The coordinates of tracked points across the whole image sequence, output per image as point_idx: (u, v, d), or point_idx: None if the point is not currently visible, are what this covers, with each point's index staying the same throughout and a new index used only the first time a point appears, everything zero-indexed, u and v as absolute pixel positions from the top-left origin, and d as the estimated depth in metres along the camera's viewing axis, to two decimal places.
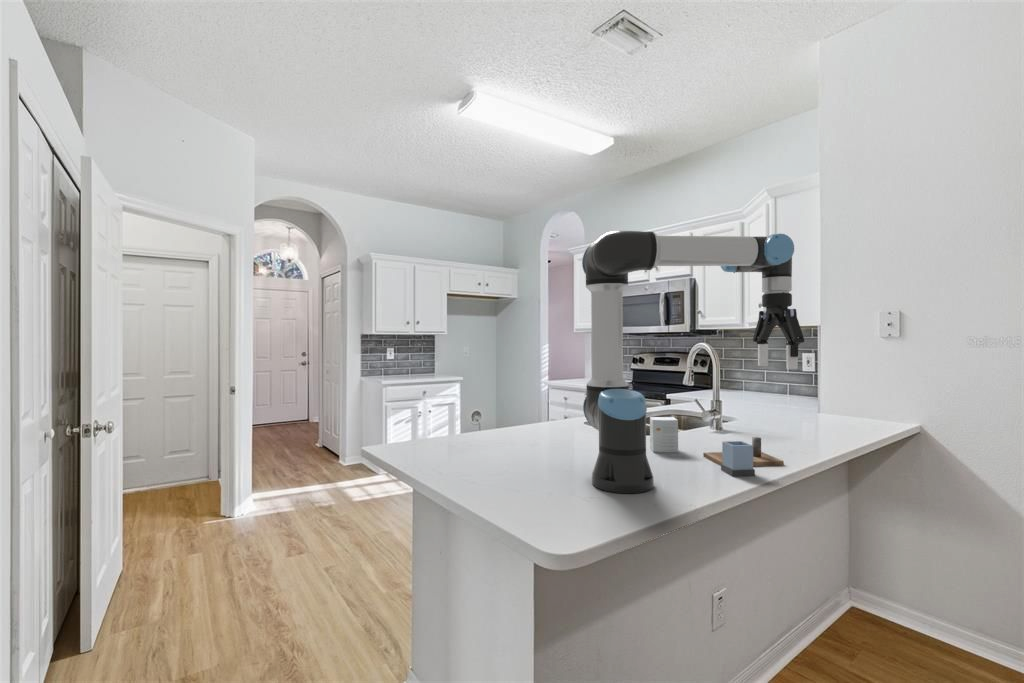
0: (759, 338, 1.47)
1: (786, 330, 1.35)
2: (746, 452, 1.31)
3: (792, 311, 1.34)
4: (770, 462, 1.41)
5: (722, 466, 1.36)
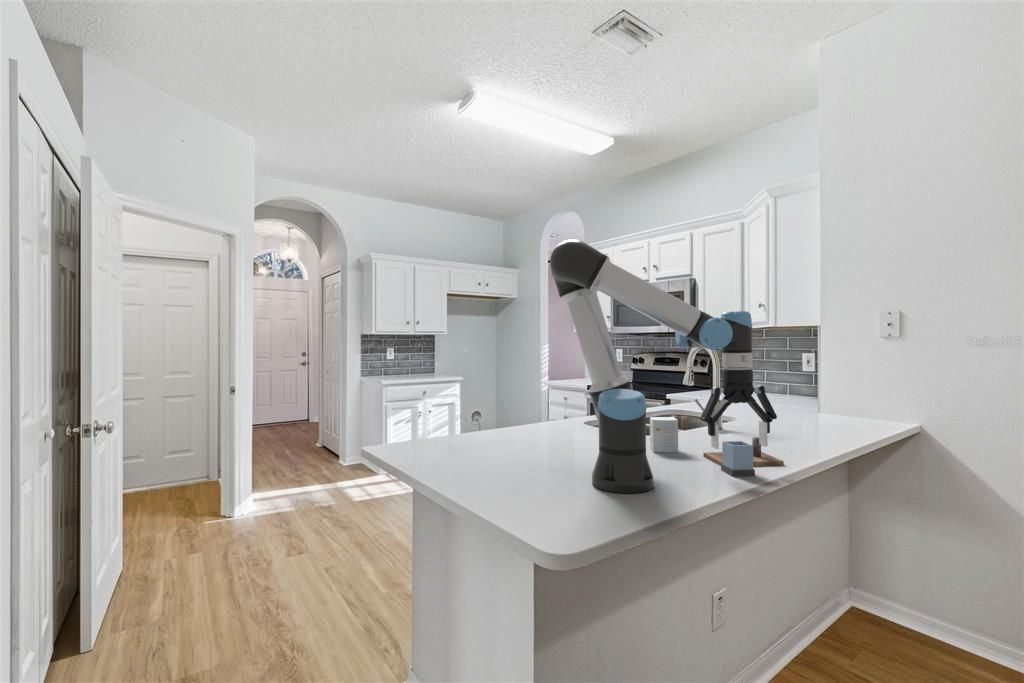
0: None
1: (716, 407, 1.34)
2: (746, 452, 1.31)
3: (713, 390, 1.33)
4: (770, 462, 1.41)
5: (722, 466, 1.36)
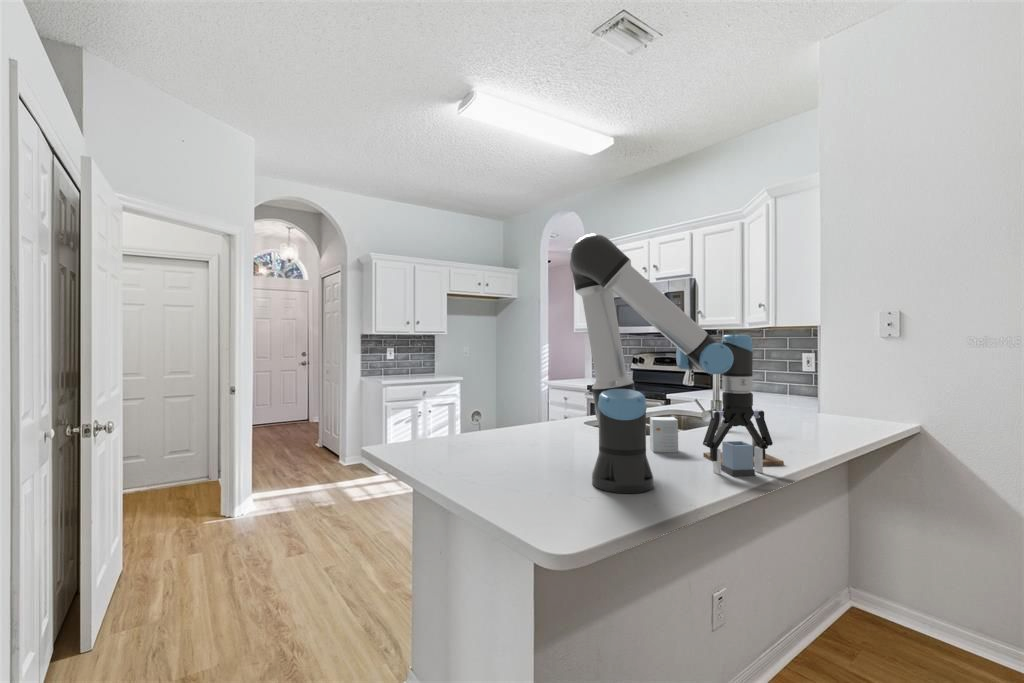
0: None
1: (718, 431, 1.34)
2: (746, 452, 1.31)
3: (713, 414, 1.33)
4: (770, 462, 1.41)
5: (722, 466, 1.36)
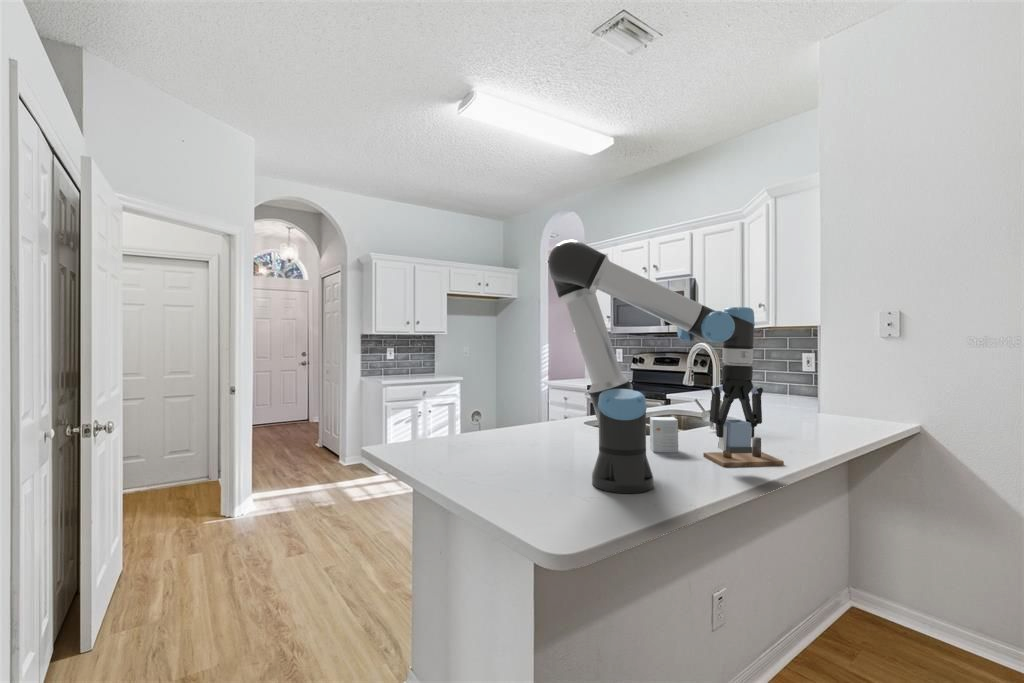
0: None
1: (721, 407, 1.34)
2: (744, 429, 1.31)
3: (712, 390, 1.33)
4: (770, 462, 1.41)
5: None
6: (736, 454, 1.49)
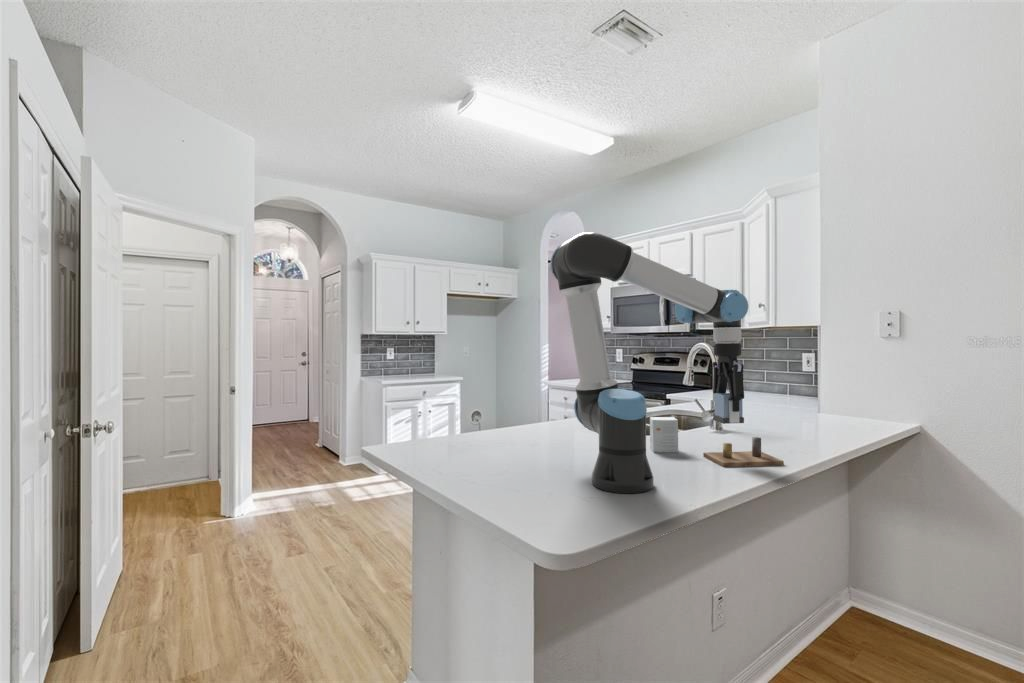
0: (717, 390, 1.50)
1: (731, 384, 1.42)
2: None
3: (739, 368, 1.39)
4: (770, 462, 1.41)
5: (726, 419, 1.43)
6: (736, 454, 1.49)
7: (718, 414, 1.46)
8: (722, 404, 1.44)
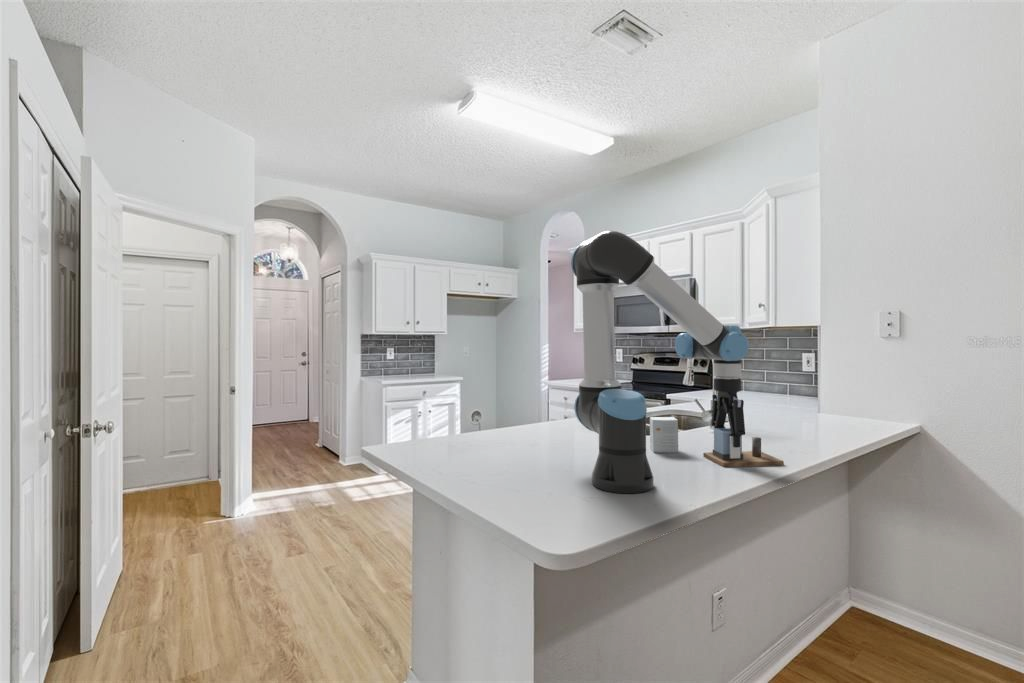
0: (716, 423, 1.50)
1: (731, 419, 1.42)
2: None
3: (739, 403, 1.39)
4: (770, 462, 1.41)
5: (725, 455, 1.43)
6: None
7: (717, 450, 1.46)
8: (721, 440, 1.44)
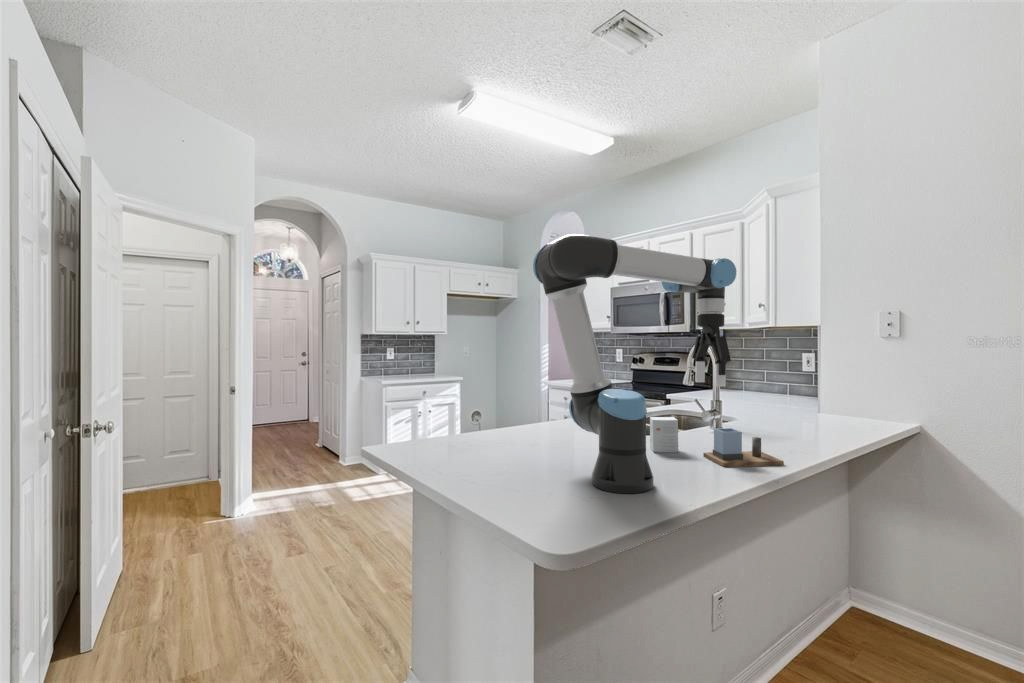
0: (696, 356, 1.55)
1: (716, 349, 1.42)
2: None
3: (721, 332, 1.41)
4: (770, 462, 1.41)
5: (725, 455, 1.43)
6: None
7: (717, 450, 1.46)
8: (721, 440, 1.44)
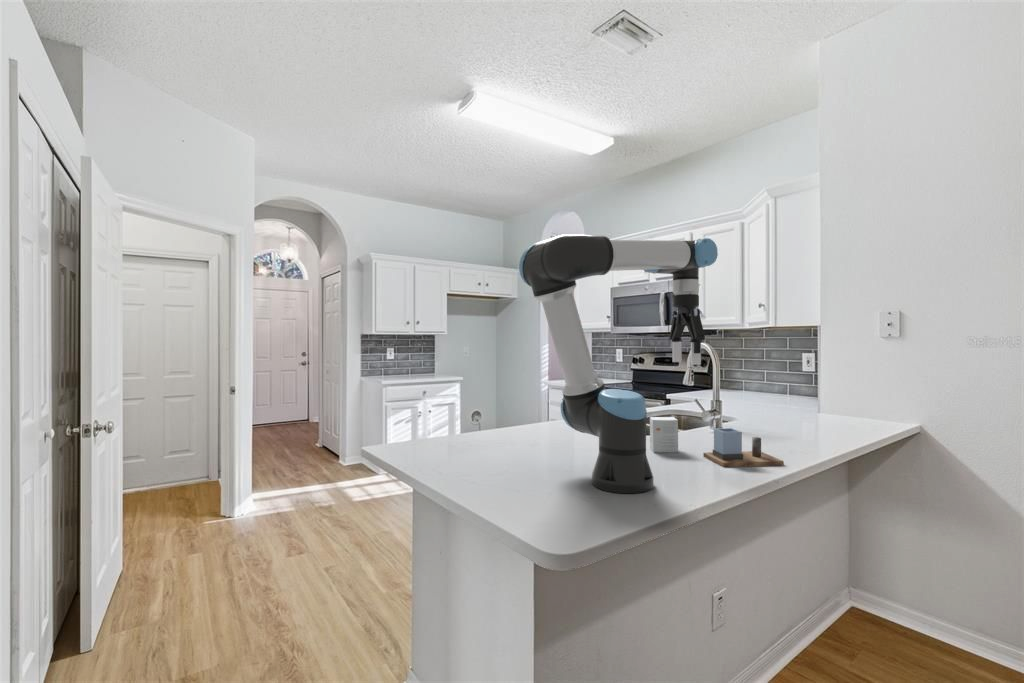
0: (673, 336, 1.58)
1: (691, 328, 1.46)
2: None
3: (695, 311, 1.45)
4: (770, 462, 1.41)
5: (725, 455, 1.43)
6: None
7: (717, 450, 1.46)
8: (721, 440, 1.44)
